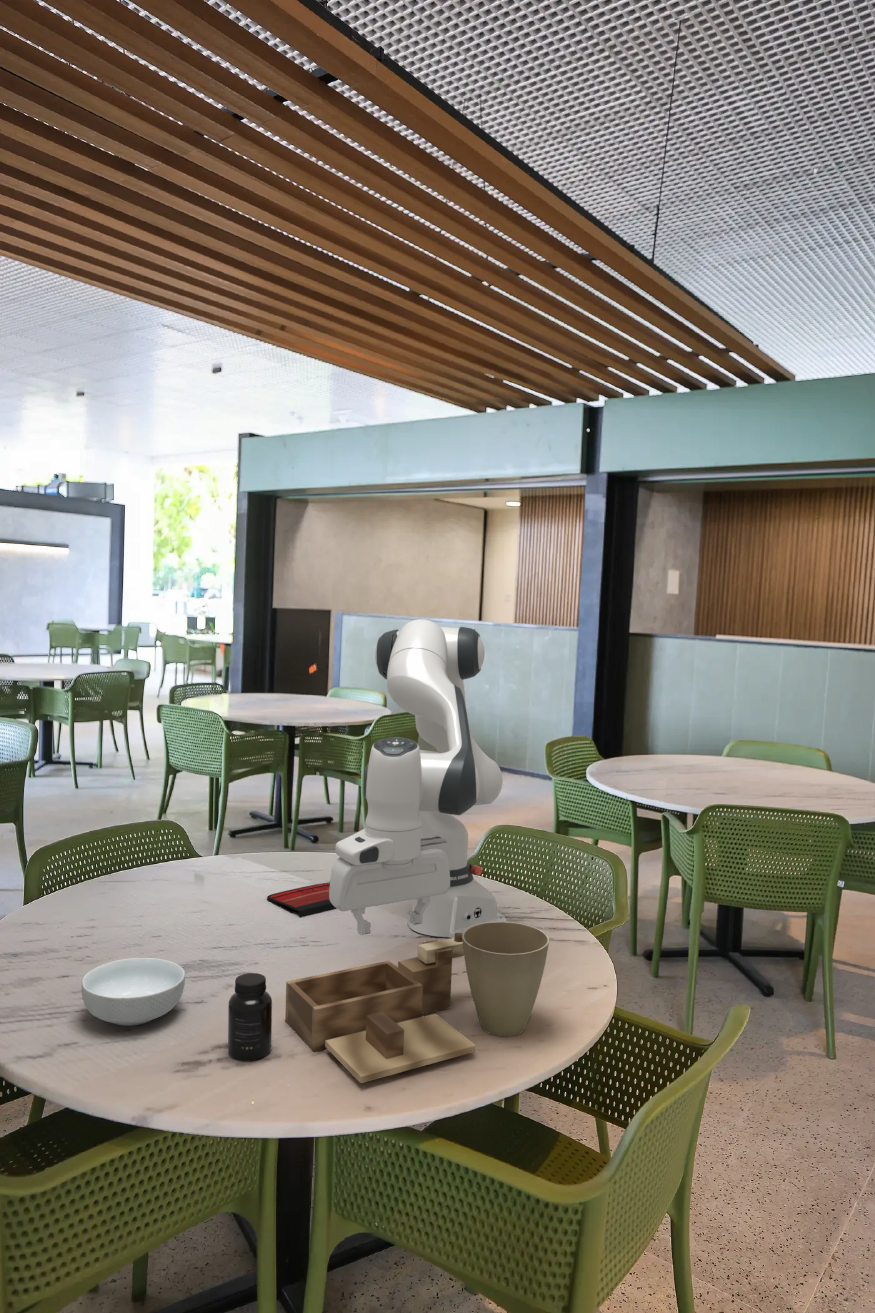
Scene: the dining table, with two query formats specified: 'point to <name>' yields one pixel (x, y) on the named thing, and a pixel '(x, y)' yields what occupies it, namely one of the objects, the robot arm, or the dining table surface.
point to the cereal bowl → (133, 990)
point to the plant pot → (504, 973)
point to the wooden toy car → (441, 948)
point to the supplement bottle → (249, 1018)
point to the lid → (397, 1046)
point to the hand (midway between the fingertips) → (390, 928)
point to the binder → (304, 899)
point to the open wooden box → (366, 996)
